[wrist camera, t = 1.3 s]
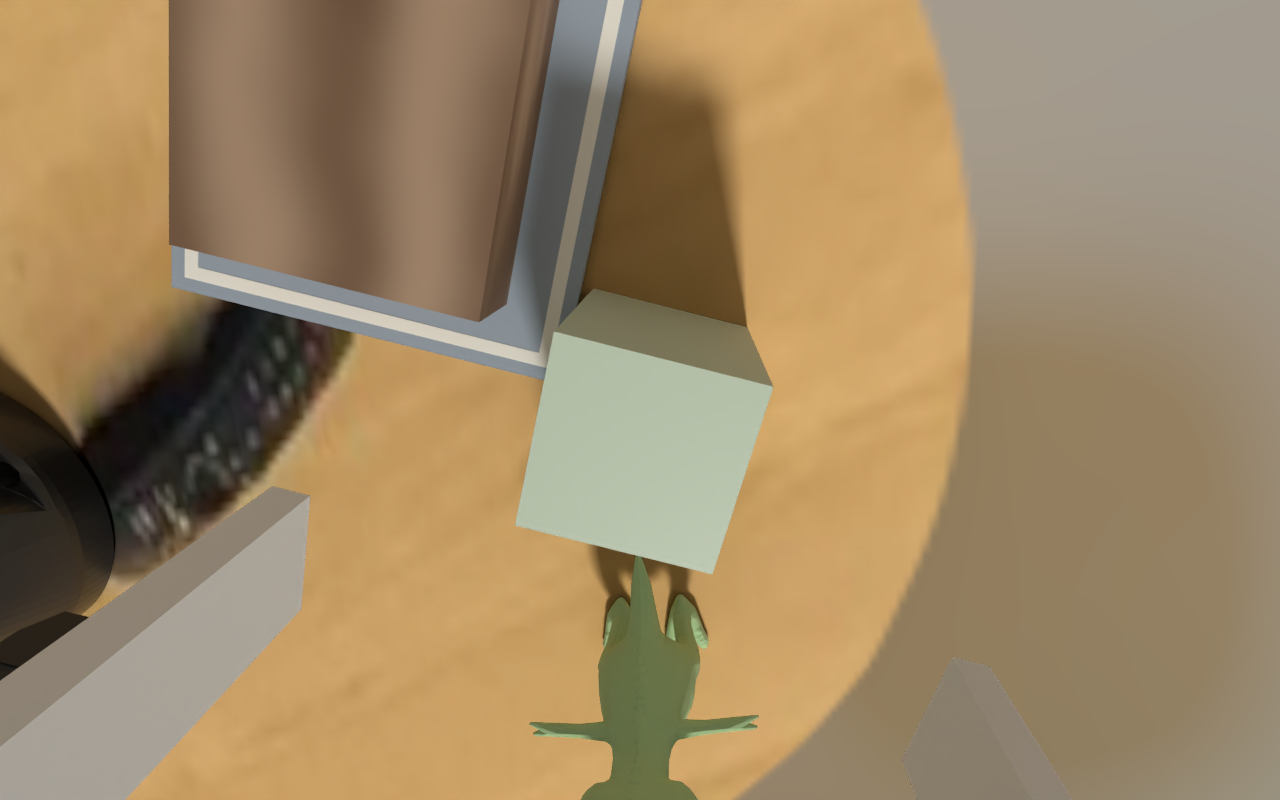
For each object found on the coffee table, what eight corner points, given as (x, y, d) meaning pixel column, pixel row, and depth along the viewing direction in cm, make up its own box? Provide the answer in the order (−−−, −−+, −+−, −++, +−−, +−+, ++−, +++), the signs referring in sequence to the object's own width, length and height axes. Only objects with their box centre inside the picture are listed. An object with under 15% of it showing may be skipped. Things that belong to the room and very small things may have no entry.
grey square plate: (181, 285, 29) (171, 286, 29) (184, -191, 24) (171, -200, 23) (562, 380, 30) (559, 384, 29) (656, -68, 24) (655, -75, 23)
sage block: (562, 431, 31) (515, 525, 22) (593, 288, 28) (554, 331, 20) (705, 466, 31) (712, 574, 22) (747, 326, 28) (773, 386, 20)
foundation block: (239, 236, 28) (169, 244, 24) (249, -83, 24) (168, -133, 20) (506, 304, 28) (478, 322, 24) (560, -2, 24) (536, -38, 20)
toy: (656, 693, 35) (643, 1040, 21) (548, 606, 34) (455, 916, 19) (750, 617, 33) (807, 942, 19) (641, 522, 32) (613, 796, 18)
